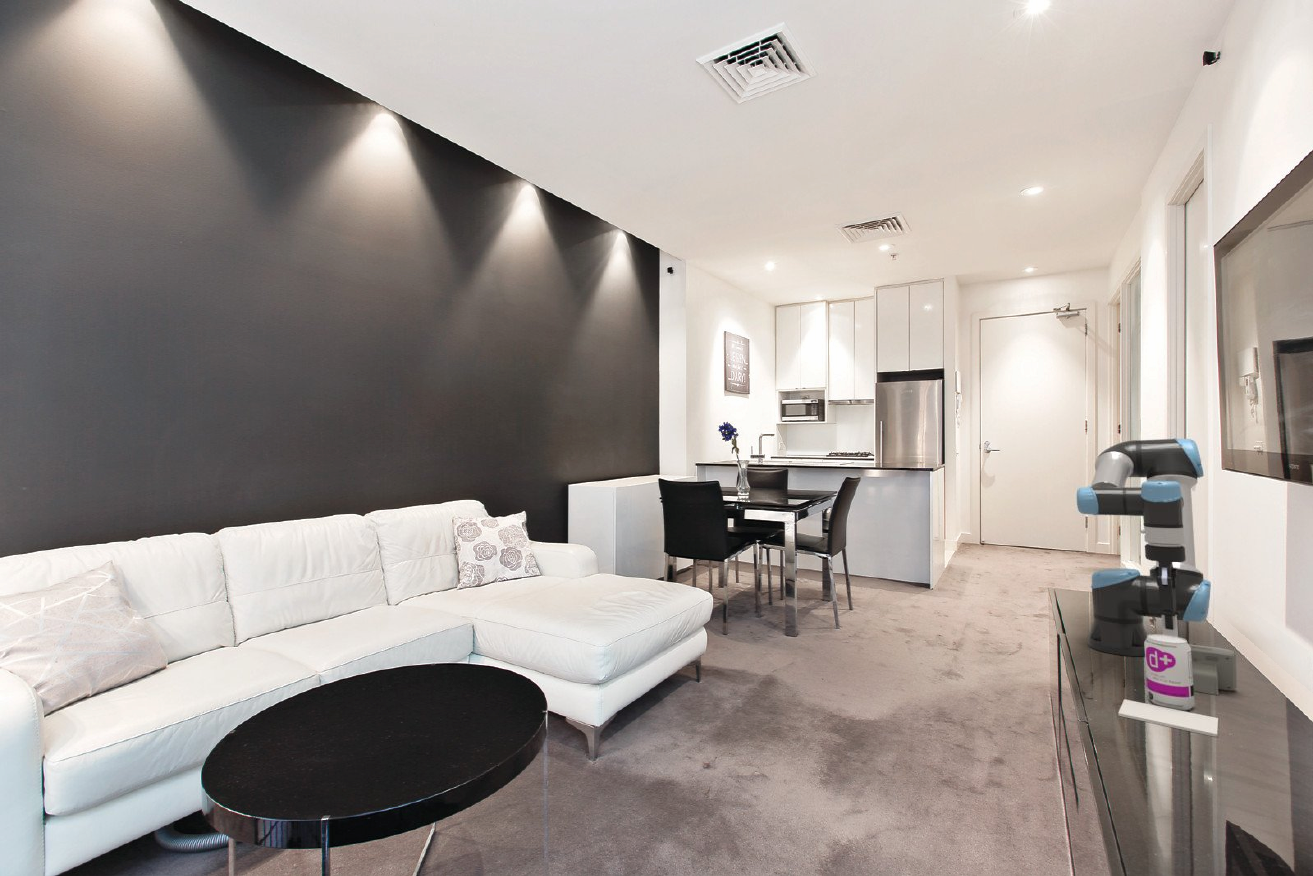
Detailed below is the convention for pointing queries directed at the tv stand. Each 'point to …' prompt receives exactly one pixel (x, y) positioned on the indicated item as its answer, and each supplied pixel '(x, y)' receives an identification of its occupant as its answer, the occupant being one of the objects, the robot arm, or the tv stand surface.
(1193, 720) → the mat
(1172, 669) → the supplement can
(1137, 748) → the tv stand surface
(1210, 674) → the digital clock
